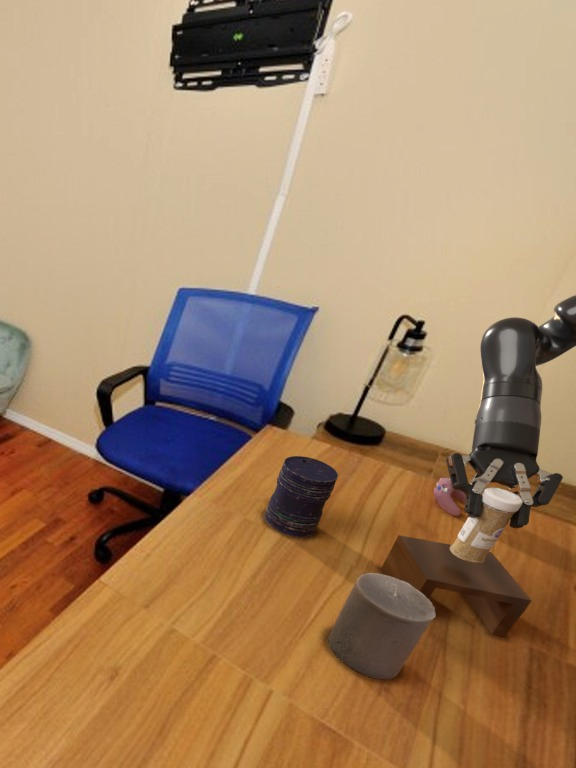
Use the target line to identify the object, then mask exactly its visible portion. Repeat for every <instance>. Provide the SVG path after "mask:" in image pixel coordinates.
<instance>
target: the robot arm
mask: <svg viewBox="0 0 576 768" xmlns="http://www.w3.org/2000/svg"><path fill="white" fill-rule="evenodd" d="M479 347H480V348H479V353H480V363H481V369H482V375H483V383H482V387H481V394H480V402H479V406H478V409H477V412H476V416H475V419H474V430H473V438H472V445H471V452H470V453H469V454H461V453H458V452H456V453H453V454H451V455H449V456H447V457H446V458H445V461H446V467H447V471H448V474H449V479H450V480H451V484H452V487H453V488H454V489H456V490H460V491H462V492H464V493H465V495H466V499H465V501H464V507H463V511H464V513H465V514H467V518H468V517H471V518H477V517H479V516H480V514H481V506H482V499H483V496H482V495H481V494H482V493H483V491H484V490H485V489H486V488H487V486H488V485H489V484H490V483H491V484H492V483H493V484H499V485H501V486H504V487H505V488H506V490H507V491H509V492H512V493H514V494H516V495H517V496H519V497H520V498H521V499H522V501H523V503H522V505H521V507H520V508H519V510H518V511H516V512H515V513H514V514H513V515H512V517H511V519H510V520H509V527H510V528H513V529H521V528H523V527H524V526H527V525H528V524H529V522H530V514H531V508H539V507H541V506H547V505H549V504H550V502H551V501H552V499H553V497H554V495H555V493H556V491H557V490H558V489H559V486H560V485H561V482H562V481H563V478H564V476H563V475H562V473H558V472H554V473H551V472H548V471H547V470H543V469H541V467H540V465H539V464H538V462H537V458H538V456H539V455H538V454H539V447H540V436H541V435H540V434H541V427H542V409H541V408H542V407H541V406H542V405H541V404H542V396H543V380H542V377H541V375H540V373H539V372H538V369H537V367H539V366H542V365H544V364H547V363H549V362H551V361H553V360H555V359H557V358H558V357H560V356H562V355H564V354H565V353H566V352H568V351H570V350H572V349H574V348H575V347H576V294H575V295H571V296H569V297H568V298H565V299H564V300H562V301H560V302H558V303H557V304H556V305H555V306H554V307H553V316H552V317H551V318H550V319H548V320H547V321H545V322H544V323H542V324H540V325H539V326H538V325H537V324H536V323H535V322H534V321H532V320H529V319H527V318H524V317H517V316H516V317H515V316H514V317H506V318H503V319H500V320H498V321H496V322H494V323H492V324H491V325H490V326H489V327H487V329H485V331H484V333H483V334H482V337H481V339H480V345H479ZM468 464H469V465H470V466H471V468H472V469H473V470H474V472H475V474H474V475H473V477H472V478H471V480H470V482H469V479H468V475H467V471H466V467H467V466H468ZM533 476H535V477H536V483H537V484H538V485H537V487H536V489H535V491H534V493H533V494H532V493H531V490H532V487H531V484H530V481H529V479H530V478H532V477H533Z"/></svg>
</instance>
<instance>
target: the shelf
mask: <svg viewBox="0 0 576 768" xmlns="http://www.w3.org/2000/svg"><path fill="white" fill-rule="evenodd" d="M451 545H452V544H449V543H444V542H439V541H434V540H428V539H423V538H417V537H412V536H407V535H401V534H398V536H397V537H396V539H395V541H394V543H393V545H392V547H391V549H390V550H389V552H388V554H387V556H386V558H385V560H384V562H383V563H382V566H381V568H380V570H381V572H382V573H381V574H383V575H387V576H391V577H394V578H396V579H399V580H401V581H405V582H407V583H409V584H410V585H411V586H413V587H414V588H415V589H417V590H419V591H420V592H421V593H422V594H424V595H425V596H426V598H428V599H429V600H430V598H431V596H432V595H433V593H434V591H435V590H436V589H440V590H445V591H450V592H454V593H460V594H463V596H464V597H465V598H466V600H467V601H468V603H469V604H470V606H471V607H472V608H473V610H474V611H475V613H476V614H477V616H478V617H479V619H480V621H482V623H483V624H484V626H485V627H486V628H487V630H488V632H489V633H490V634H491V635H492V636H497V637H502V638H506V637H507V635H508V634H509V633H510V631H511V630H512V629H513V627H514V626H515V625H516V623H517V622H518V620H519V619H520V617H522V615H523V613H524V612H525V611H526V609H527V608H528V607H529V606H530V604H531V602H533V600H532V599H531V598H530V596H529V595H528V594H527V593H526V591H524V589H523V588H522V587H521V585H520V584H519V583H518V582H517V581H516V580H515V578H513V576H512V574H510V572H509V571H508V570H507V569H506V568H505V566H504V565H503V564H502V563H501V562H500V560H499V559H498V558H497V557H496V556H495V555H494V554H493V552H492V551H489V553H488V554H487V556H486V557H485V560H484V562H483V563H476V564H475V563H470V562H467V561H464V560H462V559H460V558H458V557H456V556H455V555H454V554H452V552H451V551H450V546H451Z"/></svg>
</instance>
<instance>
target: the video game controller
mask: <svg viewBox="0 0 576 768" xmlns="http://www.w3.org/2000/svg"><path fill="white" fill-rule="evenodd" d="M433 498H434V501H435V502H436V503H437V505H438V506H439V507H441V509H442V510H443V511H445V512H446V513H447V514H448V515H450V516H453V517H459V516H460V515H461V513H462V511H461V509H460V507H459V506H458V505H457V504H456V502H455V501H454V500H453V498H454V499H455V500H456V501H459V502H465V499H466V495H465V493H464V492H462V491H460V490H456V489H454V488H453V487H452V484H451V480H450V477H440V478H439V480H438V481H437V482H436V487H434V488H433Z"/></svg>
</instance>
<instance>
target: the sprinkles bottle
mask: <svg viewBox="0 0 576 768" xmlns="http://www.w3.org/2000/svg"><path fill="white" fill-rule="evenodd" d="M480 495H482V496H483V499H482V506H481V514H480V516H479V517H477V518H471V517H468V516H467V519H466V521H464V524H463V525H462V527H461V529H460V530H459V532H458V533H457V537H456V539H455V540H454V542H453V543H452V544H450V545H451V546H450V551H451V552H452V554H454V555H455V556H456V557H458V558H460V559H462V560H464V561H467V562H470V563H475V564H476V563H483V562H484V560H485V557H486V556H487V554H488V553H489V552H491V550H492V549H493V548H494V546H495V544H496V543H497V542H498V540H499V538H500V537H501V535H502V534H503V532H504V531H505V529H506V526H507V525H508V523H510V519H511V517H512V515H513V514H514V513H515V512H516V511H518V510H519V508H520V507H521V505H522V503H523V501H522V499H521V498H520V497H519V496H517V495H516V494H514V493H512V492H509V491H508V490H507V489H504V488H499V487H485V488H484V490H483V491H482V493H480Z"/></svg>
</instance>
